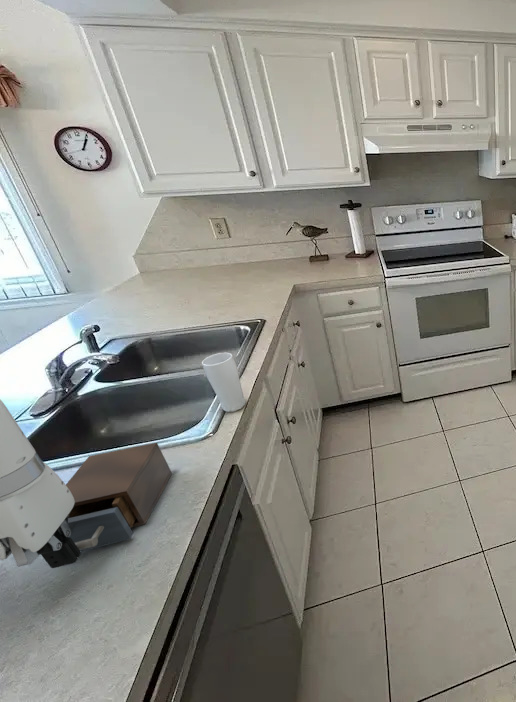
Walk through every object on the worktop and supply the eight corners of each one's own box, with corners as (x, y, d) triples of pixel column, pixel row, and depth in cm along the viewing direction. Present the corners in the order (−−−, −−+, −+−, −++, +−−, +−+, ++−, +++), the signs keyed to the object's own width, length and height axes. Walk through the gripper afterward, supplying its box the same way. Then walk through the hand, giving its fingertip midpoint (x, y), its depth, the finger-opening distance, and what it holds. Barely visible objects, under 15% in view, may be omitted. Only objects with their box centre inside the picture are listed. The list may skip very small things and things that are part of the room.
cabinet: (145, 524, 77) (126, 491, 74) (69, 542, 74) (45, 509, 70) (172, 473, 89) (157, 442, 85) (107, 487, 86) (89, 456, 82)
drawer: (120, 558, 70) (102, 530, 67) (44, 577, 67) (22, 550, 64) (158, 487, 84) (145, 462, 81) (97, 501, 81) (81, 475, 79)
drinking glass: (254, 402, 112) (238, 355, 106) (231, 417, 106) (212, 367, 100) (238, 397, 115) (221, 350, 108) (214, 411, 109) (195, 362, 103)
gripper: (9, 447, 63) (66, 529, 71) (-79, 527, 51) (3, 616, 59) (69, 436, 66) (118, 517, 73) (-1, 510, 53) (68, 598, 61)
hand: (67, 560), depth 66 cm, fingers closed
